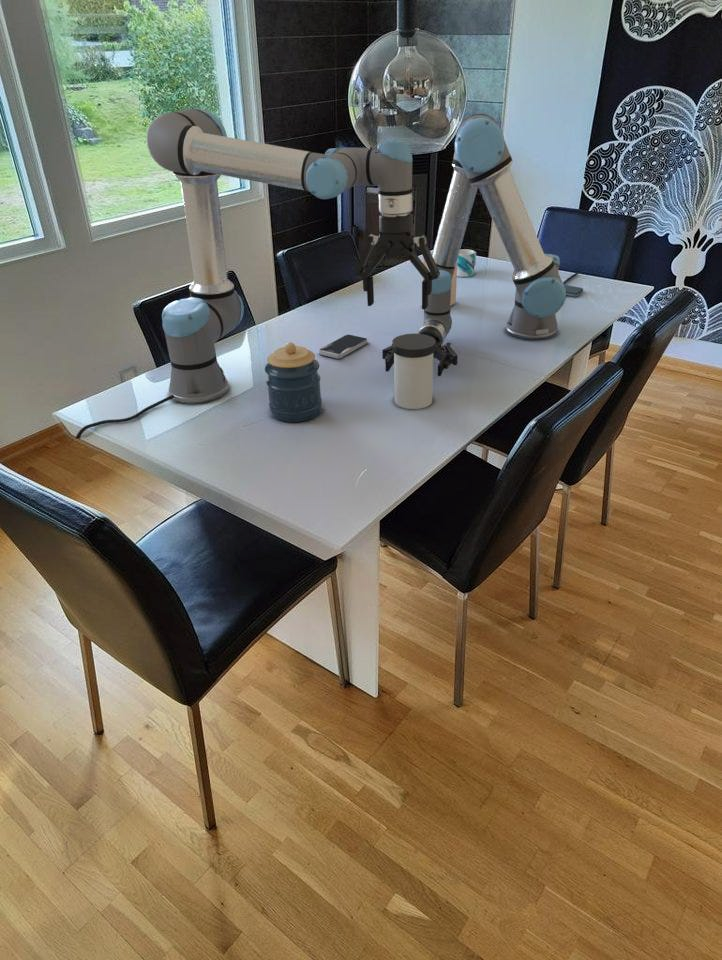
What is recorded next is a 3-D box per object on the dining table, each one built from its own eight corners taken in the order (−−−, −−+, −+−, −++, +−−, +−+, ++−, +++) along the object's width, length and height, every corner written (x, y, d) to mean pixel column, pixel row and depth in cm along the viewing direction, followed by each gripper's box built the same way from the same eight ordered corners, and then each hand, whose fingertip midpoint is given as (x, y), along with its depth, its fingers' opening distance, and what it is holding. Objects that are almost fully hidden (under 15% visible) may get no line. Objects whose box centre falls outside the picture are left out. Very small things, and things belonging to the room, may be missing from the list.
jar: (440, 401, 168) (441, 343, 160) (411, 412, 163) (412, 353, 155) (414, 389, 175) (415, 333, 166) (386, 400, 170) (386, 342, 161)
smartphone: (368, 338, 202) (338, 355, 192) (368, 342, 203) (339, 359, 192) (347, 334, 206) (317, 350, 195) (347, 338, 206) (317, 354, 196)
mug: (449, 275, 259) (450, 253, 254) (462, 267, 267) (463, 245, 262) (469, 277, 255) (470, 255, 250) (481, 269, 263) (483, 247, 259)
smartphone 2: (577, 293, 230) (535, 286, 237) (576, 298, 231) (535, 291, 238) (584, 287, 236) (543, 280, 243) (583, 292, 237) (542, 285, 244)
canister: (275, 426, 159) (266, 357, 150) (266, 403, 170) (257, 337, 160) (328, 418, 162) (323, 349, 153) (316, 396, 173) (310, 330, 163)
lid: (444, 349, 161) (445, 341, 160) (411, 361, 155) (411, 353, 154) (415, 338, 168) (415, 330, 167) (383, 349, 162) (382, 340, 161)
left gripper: (338, 215, 151) (343, 307, 163) (446, 218, 144) (444, 314, 155) (349, 209, 157) (354, 298, 169) (454, 210, 150) (451, 304, 161)
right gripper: (473, 355, 186) (460, 386, 169) (386, 348, 193) (366, 378, 176) (475, 329, 182) (462, 359, 165) (386, 322, 189) (365, 351, 172)
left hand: (397, 306), depth 162 cm, fingers open, 13 cm apart
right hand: (412, 369), depth 171 cm, fingers open, 13 cm apart
